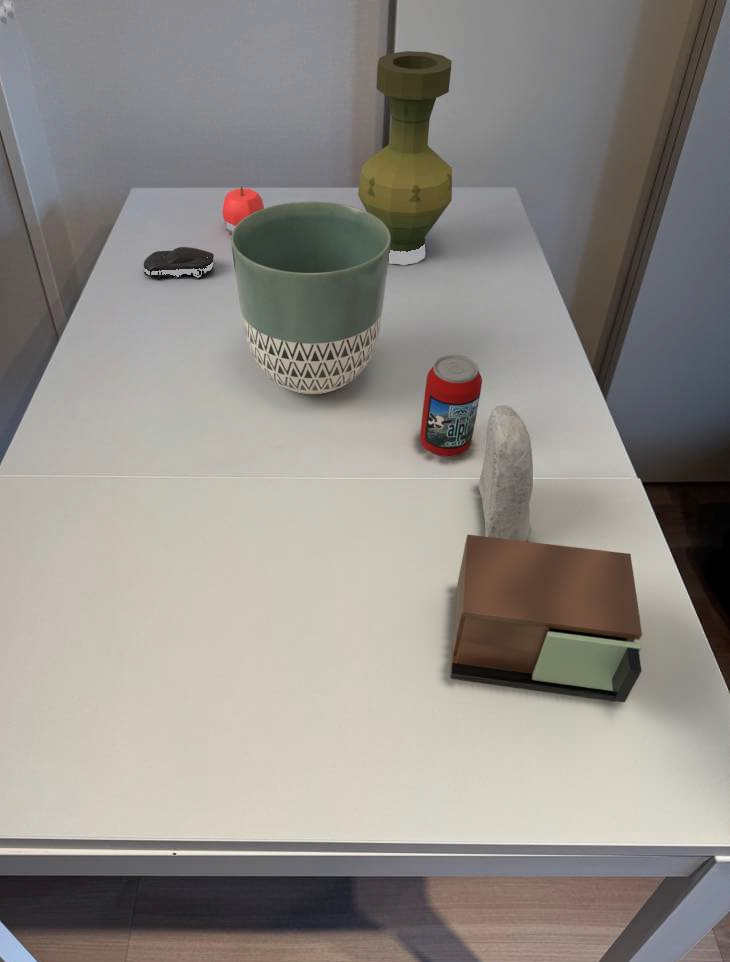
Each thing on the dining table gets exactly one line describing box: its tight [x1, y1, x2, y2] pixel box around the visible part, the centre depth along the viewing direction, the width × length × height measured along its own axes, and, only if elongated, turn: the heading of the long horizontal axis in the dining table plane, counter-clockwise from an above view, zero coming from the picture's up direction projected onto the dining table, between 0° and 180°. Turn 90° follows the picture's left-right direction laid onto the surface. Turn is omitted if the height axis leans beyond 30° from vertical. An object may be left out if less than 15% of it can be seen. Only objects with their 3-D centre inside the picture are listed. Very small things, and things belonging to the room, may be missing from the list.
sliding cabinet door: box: [532, 631, 642, 703], centre depth 71 cm, size 8×3×7 cm, turn 81°
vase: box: [357, 50, 453, 252], centre depth 127 cm, size 16×16×30 cm
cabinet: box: [450, 534, 643, 702], centre depth 76 cm, size 16×11×9 cm
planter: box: [230, 200, 391, 395], centre depth 103 cm, size 20×20×21 cm
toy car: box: [143, 246, 215, 280], centre depth 131 cm, size 6×12×4 cm, turn 93°
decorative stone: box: [478, 404, 534, 542], centre depth 86 cm, size 11×6×15 cm, turn 0°
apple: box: [222, 186, 265, 226], centre depth 141 cm, size 8×8×8 cm
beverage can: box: [419, 354, 483, 458], centre depth 97 cm, size 7×7×12 cm
